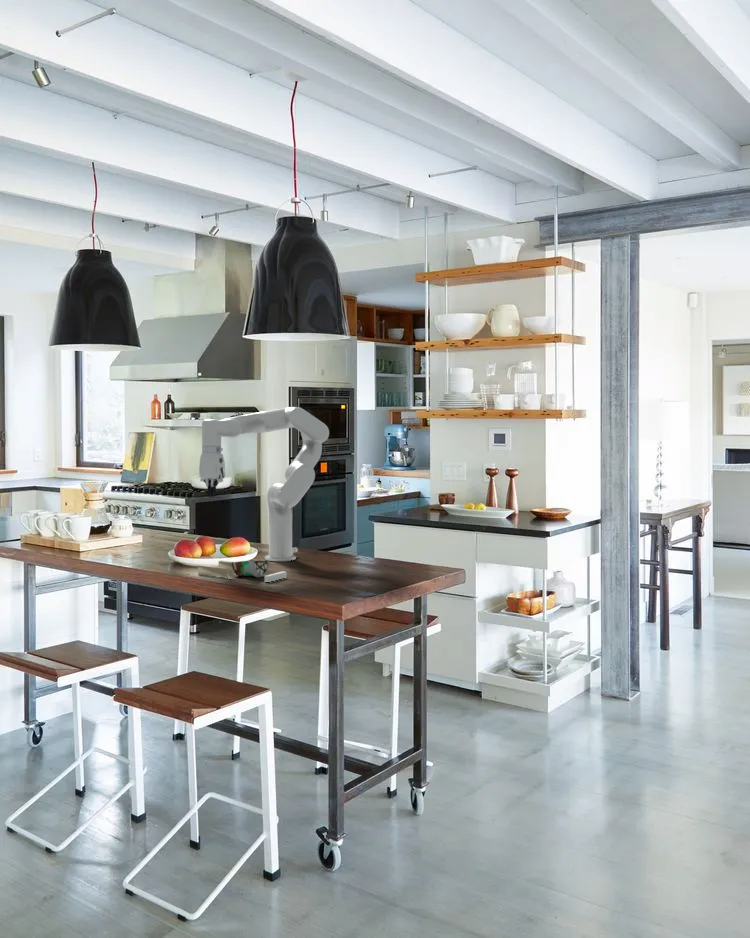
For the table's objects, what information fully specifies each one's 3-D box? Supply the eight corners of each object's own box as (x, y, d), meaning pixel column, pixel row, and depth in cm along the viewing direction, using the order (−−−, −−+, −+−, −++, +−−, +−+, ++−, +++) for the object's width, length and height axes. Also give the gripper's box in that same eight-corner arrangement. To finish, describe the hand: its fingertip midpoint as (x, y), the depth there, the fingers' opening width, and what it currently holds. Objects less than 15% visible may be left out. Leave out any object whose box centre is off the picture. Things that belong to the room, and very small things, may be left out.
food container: (230, 579, 331) (254, 577, 327) (229, 562, 332) (253, 560, 328) (247, 578, 342) (270, 577, 339) (246, 562, 343) (269, 560, 340)
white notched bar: (282, 577, 334) (282, 571, 334) (286, 578, 333) (286, 571, 333) (264, 582, 324) (264, 575, 324) (268, 583, 324) (268, 576, 324)
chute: (224, 568, 352) (224, 559, 351) (260, 573, 343) (260, 564, 343) (194, 575, 337) (194, 566, 337) (231, 580, 328) (231, 570, 328)
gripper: (232, 450, 359) (232, 496, 360) (203, 449, 366) (203, 494, 367) (220, 451, 352) (220, 498, 353) (190, 450, 360) (191, 496, 361)
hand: (211, 496), depth 360 cm, fingers closed
